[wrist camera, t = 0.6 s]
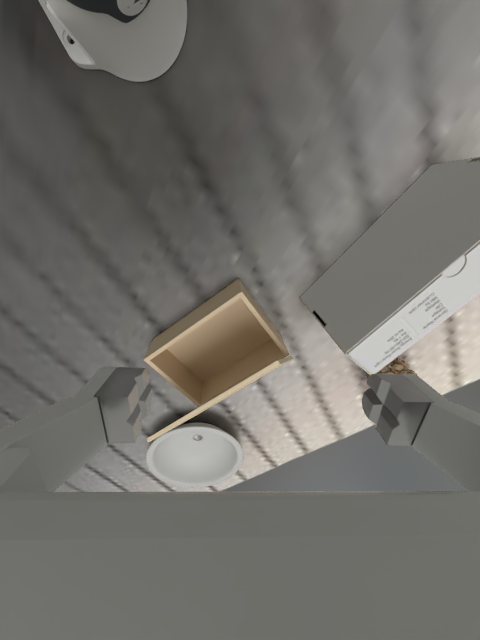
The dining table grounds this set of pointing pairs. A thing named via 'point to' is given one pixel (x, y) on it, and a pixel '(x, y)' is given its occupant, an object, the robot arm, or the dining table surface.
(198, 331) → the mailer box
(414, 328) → the packaging
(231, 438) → the white bowl
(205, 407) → the lid
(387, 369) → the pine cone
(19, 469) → the robot arm
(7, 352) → the dining table surface
